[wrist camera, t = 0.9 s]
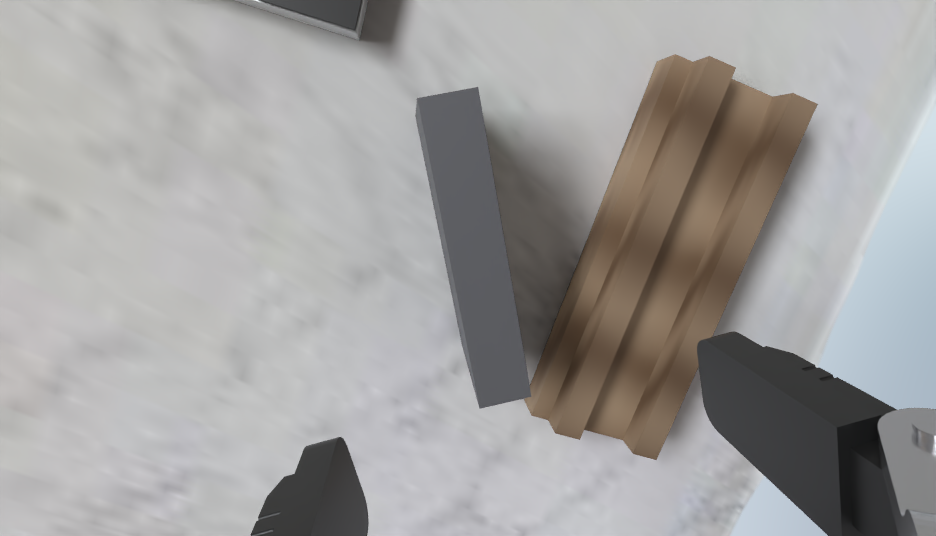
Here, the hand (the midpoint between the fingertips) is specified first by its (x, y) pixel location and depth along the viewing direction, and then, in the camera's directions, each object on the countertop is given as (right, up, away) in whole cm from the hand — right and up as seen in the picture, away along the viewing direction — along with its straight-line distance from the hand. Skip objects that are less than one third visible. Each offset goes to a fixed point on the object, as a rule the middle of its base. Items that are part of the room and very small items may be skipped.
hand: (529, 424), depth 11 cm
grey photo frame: (-2, +5, +18) cm, 19 cm away
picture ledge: (+10, +4, +20) cm, 23 cm away
